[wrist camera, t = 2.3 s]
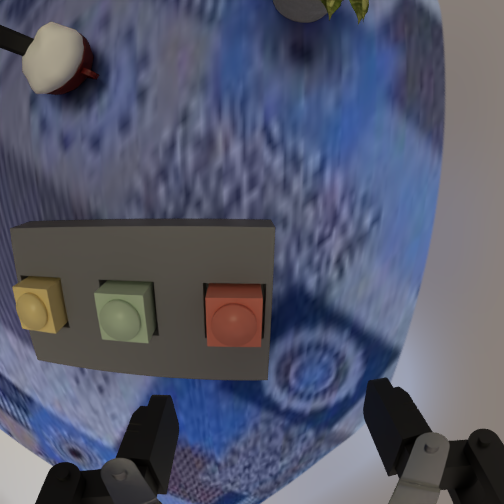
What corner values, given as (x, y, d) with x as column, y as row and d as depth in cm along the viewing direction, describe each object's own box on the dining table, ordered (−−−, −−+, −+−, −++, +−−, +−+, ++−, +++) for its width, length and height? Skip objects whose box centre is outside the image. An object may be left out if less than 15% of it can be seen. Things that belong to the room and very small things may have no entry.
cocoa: (118, 74, 24) (62, 30, 13) (69, 120, 25) (-7, 106, 13) (72, 18, 22) (14, -31, 10) (28, 61, 22) (-44, 33, 11)
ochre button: (37, 315, 27) (19, 331, 23) (29, 276, 26) (8, 289, 22) (70, 319, 27) (53, 336, 24) (62, 278, 26) (43, 292, 23)
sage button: (113, 323, 27) (99, 342, 24) (107, 280, 26) (91, 295, 23) (156, 326, 27) (146, 347, 24) (152, 281, 26) (140, 298, 23)
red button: (210, 328, 28) (206, 350, 24) (209, 283, 27) (204, 300, 23) (258, 329, 28) (261, 350, 24) (260, 284, 27) (263, 301, 23)
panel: (51, 344, 31) (37, 359, 27) (29, 221, 27) (10, 228, 24) (264, 359, 32) (267, 380, 28) (270, 219, 28) (275, 227, 24)
